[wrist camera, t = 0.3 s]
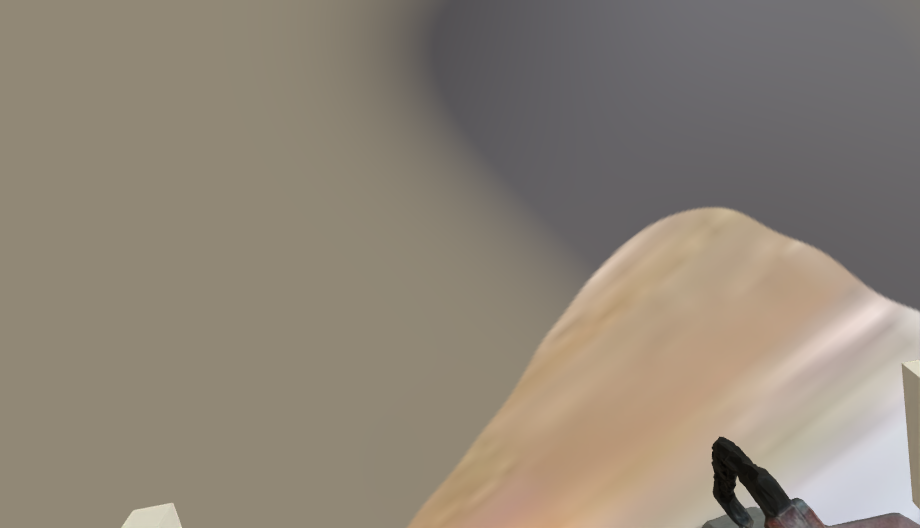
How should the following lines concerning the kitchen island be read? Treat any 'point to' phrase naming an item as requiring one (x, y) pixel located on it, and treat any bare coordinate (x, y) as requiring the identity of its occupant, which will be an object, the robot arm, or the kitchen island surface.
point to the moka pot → (770, 498)
